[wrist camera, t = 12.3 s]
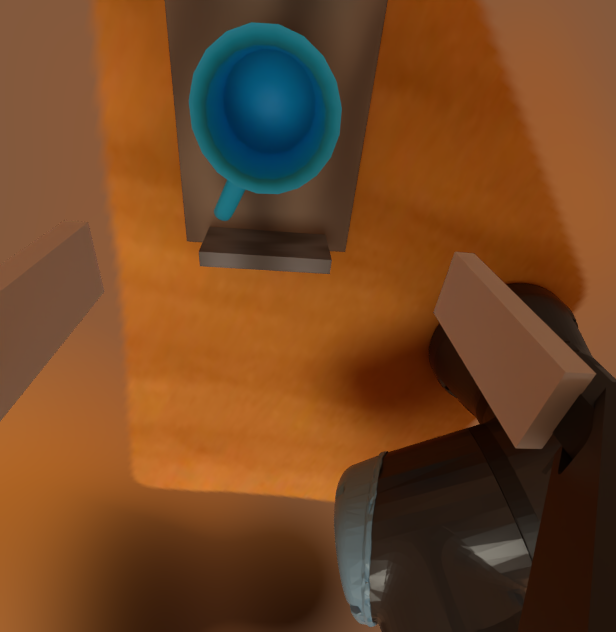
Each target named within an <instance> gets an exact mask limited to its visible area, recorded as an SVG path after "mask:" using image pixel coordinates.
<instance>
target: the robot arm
mask: <svg viewBox="0 0 616 632" xmlns="http://www.w3.org/2000/svg"><path fill="white" fill-rule="evenodd" d="M103 293H104V289H103V284H102V280H101V276H100V271H99V267H98V263H97V259H96V254H95V250H94V245H93V241H92V237H91V232H90V228H89V224H88V222H80V221H68V220H64V221H63V222H61V223H60V224H58V225H57V226H55V227H54V228H52V229H51V230H50V231H48V232H47V233H45V234H44V235H42V236H41V237H39V238H38V239H37V240H35V241H34V242H32V243H31V244H29V245H28V246H27V247H25V248H24V249H22V250H21V251H19V252H18V253H16V254H15V255H14V256H12V257H11V258H9V259H8V260H6V261H5V262H3V263H2V264H1V265H0V421H1V420H2V418H3V417H4V416H5V415H6V414H7V412H8V411H9V410H10V409H11V407H12V406H13V405H14V404H15V402H16V401H17V400H18V399H19V397H20V396H21V395H22V394H23V392H24V391H25V390H26V389H27V387H28V386H29V385H30V384H31V382H32V381H33V380H34V379H35V378H36V376H37V375H38V374H39V373H40V371H41V370H42V369H43V368H44V366H45V365H46V364H47V363H48V361H49V360H50V359H51V358H52V356H53V355H54V353H56V351H57V350H58V349H59V348H60V346H61V345H62V344H63V343H64V341H65V340H66V339H67V338H68V336H69V335H70V334H71V332H72V331H73V330H74V329H75V328H76V326H77V325H78V324H79V323H80V321H81V320H82V319H83V318H84V317H85V315H86V314H87V313H88V312H89V310H90V309H91V308H92V307H93V305H94V304H95V303H96V301H97V300H98V299H99V297H101V295H102V294H103ZM433 313H434V314H435V316H436V318H437V319H438V321H439V323H440V324H439V326H438V327H437V329H436V330H435V332H434V334H433V337H432V339H431V342H430V346H429V361H430V365H431V367H432V369H433V371H434V373H435V375H436V377H437V379H438V381H439V383H440V384H441V385H442V387H443V388H444V389H445V390H446V391H447V392H449V393H450V394H451V395H453V396H454V397H456V398H458V400H459V401H460V402H461V403H462V405H463V406H464V407H465V408H466V409H468V410H469V411H470V412H471V413H472V414H473V415H474V416H475V417H476V418H477V420H478V422H479V423H480V424H479V425H476V426H473V427H470V428H466V429H463V430H459V431H456V432H453V433H450V434H446V435H443V436H440V437H437V438H433V439H430V440H427V441H424V442H420V443H417V444H414V445H411V446H407V447H404V448H401V449H398V450H394V451H391V452H388V451H387V452H386V451H384V452H381V453H380V454H379V456H376V457H373V458H371V459H368V460H365V461H363V462H360V463H357V464H354V465H352V466H351V467H349V468H348V469H347V470H346V471H345V472H344V473H343V474H342V476H341V478H340V480H339V483H338V486H337V490H336V497H335V507H334V527H335V528H334V529H335V543H336V552H337V560H338V566H339V571H340V577H341V582H342V586H343V590H344V594H345V597H346V600H347V602H348V603H349V604H350V608H351V613H352V614H353V616H354V618H355V619H356V620H357V621H358V622H359V623H360V624H366V625H368V626H369V627H372V626H375V625H377V623H378V624H379V626H380V629H381V631H382V632H616V379H615V378H614V377H613V376H612V375H611V374H610V373H609V372H608V371H607V370H606V369H604V368H603V367H602V366H601V365H600V364H599V363H598V362H597V361H596V360H595V359H594V358H593V357H592V355H591V353H590V351H589V349H588V347H587V345H586V343H585V341H584V339H583V337H582V335H581V333H580V331H579V329H578V325H577V322H576V319H575V317H574V315H573V313H572V312H571V310H570V309H569V308H568V307H567V306H566V305H565V304H564V303H563V302H562V301H561V300H560V299H559V298H557V297H556V296H555V295H554V294H553V293H551V292H550V291H548V290H547V289H544V288H542V287H539V286H536V285H531V284H507V285H506V284H505V283H504V282H503V281H502V280H501V279H500V278H499V277H498V276H497V275H496V274H495V273H494V272H493V271H492V270H491V269H490V268H489V267H488V266H486V265H485V264H484V263H483V262H482V261H481V260H480V259H479V258H478V257H477V256H476V255H475V254H474V253H464V252H455V253H454V256H453V259H452V261H451V264H450V267H449V270H448V273H447V276H446V278H445V281H444V284H443V287H442V290H441V293H440V295H439V298H438V301H437V304H436V307H435V310H434V312H433Z"/></svg>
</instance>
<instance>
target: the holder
mask: <svg viewBox="0 0 616 632" xmlns="http://www.w3.org/2000/svg"><path fill="white" fill-rule="evenodd" d="M387 1H388V0H165V8H166V19H167V30H168V41H169V51H170V62H171V73H172V84H173V95H174V105H175V116H176V127H177V138H178V149H179V160H180V170H181V181H182V192H183V203H184V214H185V224H186V235H187V241H190V242H203V243H202V246H201V248H200V250H199V260H200V266H207V267H224V268H240V269H257V270H273V271H290V272H307V273H323V274H330V268H331V261H332V260H331V256H330V252H329V251H340V252H345V249H346V243H347V237H348V231H349V225H350V219H351V213H352V207H353V201H354V196H355V190H356V184H357V178H358V172H359V166H360V160H361V154H362V148H363V142H364V137H365V131H366V125H367V119H368V113H369V107H370V101H371V95H372V89H373V83H374V78H375V72H376V66H377V60H378V54H379V48H380V42H381V36H382V30H383V25H384V19H385V13H386V7H387ZM251 22H255V23H270V24H280V25H282V26H284V27H286V28H288V29H290V30H292V31H294V32H296V33H299V34H301V35H303V36H304V37H305V38H306V39H307V40H308V41H309V42H310V43H311V44H312V45H313V46H314V47H315V48H316V49H317V50H318V51H319V52H320V53H321V54H322V55H323V56H324V58H325V60H326V62H327V63H328V65H329V67H330V69H331V71H332V73H333V75H334V77H335V79H336V81H337V86H338V91H339V96H340V101H341V106H342V113H341V124H340V135H339V137H338V140H337V143H336V145H335V148H334V150H333V153H332V156H331V158H330V159H329V160H328V162H327V163H326V164H325V166H324V167H323V168H322V170H321V171H320V172H319V173H318V175H317V176H316V177H314V178H313V179H311V180H310V181H308V182H307V183H305V184H304V185H303V186H301V187H300V188H298V189H294V190H291V191H288V192H284V193H281V194H257V193H254V192H251V191H248V190H245V192H244V194H243V196H242V198H241V200H240V202H239V204H238V206H237V208H236V210H235V212H234V213H233V215H232V217H231V218H230V219H229V220H228V221H222V220H219V219H218V218H217V217H216V216H215V214H214V209H215V206H216V204H217V202H218V199H219V197H220V195H221V192H222V190H223V188H224V186H225V183H226V181H227V179H226V178H224V177H223V176H221V175H220V174H219V173H217V172H216V170H215V169H214V168H213V166H212V165H211V164H210V163H209V161H208V160H207V159H206V157H205V156H204V155H203V154H202V152H201V149H200V147H199V145H198V142H197V140H196V137H195V135H194V132H193V130H192V126H191V118H190V109H189V95H190V90H191V84H192V78H193V73H194V71H195V69H196V67H197V66H198V64H199V62H200V60H201V58H202V56H203V54H204V52H205V50H206V49H207V48H208V47H209V46H210V45H211V44H213V43H214V42H215V41H216V40H217V39H218V38H219V37H220V36H222V35H223V34H224V33H225V32H226V31H228V30H231V29H234V28H237V27H240V26H243V25H245V24H248V23H251Z"/></svg>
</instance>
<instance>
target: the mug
mask: <svg viewBox="0 0 616 632" xmlns="http://www.w3.org/2000/svg"><path fill="white" fill-rule="evenodd" d="M189 109H190V118H191V126H192V130H193V132H194V135H195V137H196V140H197V142H198V145H199V147H200V149H201V152H202V154H203V155H204V156H205V157H206V159H207V160H208V161H209V163H210V164H211V165H212V166H213V168H214V169H215V170H216V172H217V173H219V174H220V175H221V176H223V177H224V178H226V179H227V181H226V183H225V186H224V188H223V190H222V192H221V195H220V197H219V199H218V202H217V204H216V206H215V209H214V214H215V216H216V217H217V218H218V219H219V220H222V221H228V220H229V219H230V218H231V217H232V215H233V213H234V212H235V210H236V208H237V206H238V204H239V202H240V200H241V198H242V196H243V194H244V192H245V190H248V191H251V192H254V193H257V194H281V193H284V192H288V191H291V190H294V189H298V188H300V187H301V186H303V185H304V184H305V183H307V182H308V181H310V180H311V179H313V178H314V177H316V176H317V175H318V173H319V172H320V171H321V170H322V168H323V167H324V166H325V164H326V163H327V162H328V160H329V159H330V158H331V156H332V153H333V150H334V148H335V145H336V143H337V140H338V137H339V135H340V124H341V113H342V106H341V101H340V96H339V91H338V86H337V81H336V79H335V77H334V75H333V73H332V71H331V69H330V67H329V65H328V63H327V62H326V60H325V58H324V56H323V55H322V54H321V53H320V52H319V51H318V50H317V49H316V48H315V47H314V46H313V45H312V44H311V43H310V42H309V41H308V40H307V39H306V38H305V37H304V36H303V35H301V34H299V33H296V32H294V31H292V30H290V29H288V28H286V27H284V26H282V25H280V24H270V23H255V22H251V23H248V24H245V25H243V26H240V27H237V28H234V29H231V30H228V31H226V32H225V33H224V34H223V35H222V36H220V37H219V38H218V39H217V40H216V41H215V42H214V43H213V44H211V45H210V46H209V47H208V48H207V49H206V50H205V52H204V54H203V56H202V58H201V60H200V62H199V64H198V66H197V67H196V69H195V71H194V73H193V78H192V84H191V90H190V95H189Z"/></svg>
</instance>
